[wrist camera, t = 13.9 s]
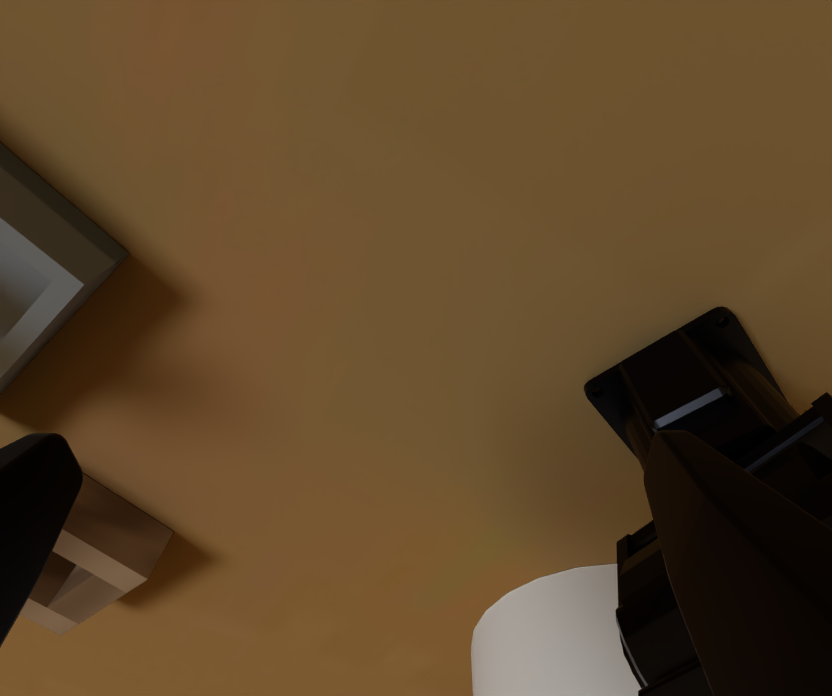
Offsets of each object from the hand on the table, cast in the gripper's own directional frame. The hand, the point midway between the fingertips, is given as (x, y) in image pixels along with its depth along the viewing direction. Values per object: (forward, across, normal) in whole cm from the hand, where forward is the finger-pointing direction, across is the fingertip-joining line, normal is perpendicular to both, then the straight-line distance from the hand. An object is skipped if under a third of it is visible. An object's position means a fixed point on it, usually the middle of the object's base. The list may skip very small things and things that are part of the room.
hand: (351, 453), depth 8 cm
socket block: (+13, +21, +17) cm, 30 cm away
